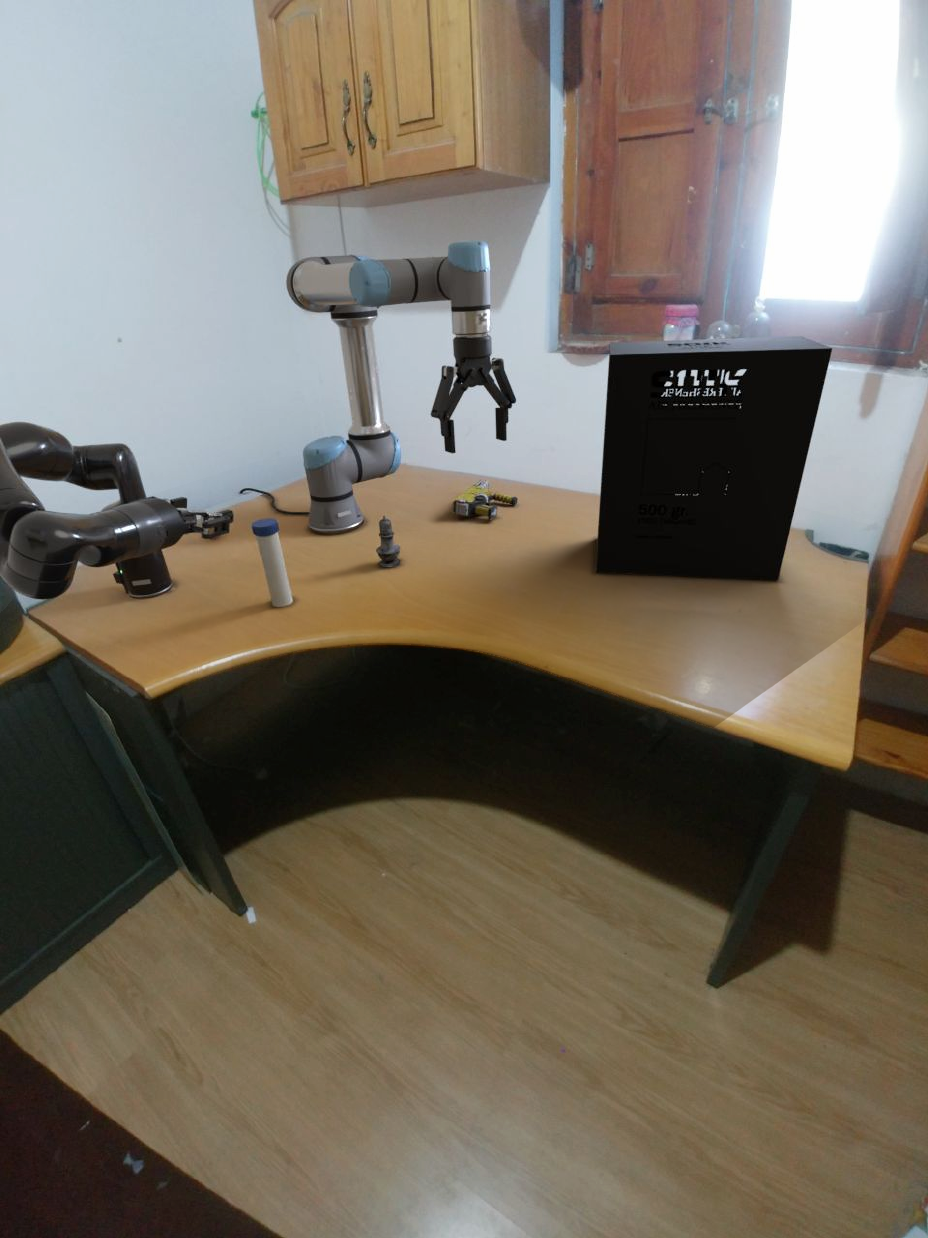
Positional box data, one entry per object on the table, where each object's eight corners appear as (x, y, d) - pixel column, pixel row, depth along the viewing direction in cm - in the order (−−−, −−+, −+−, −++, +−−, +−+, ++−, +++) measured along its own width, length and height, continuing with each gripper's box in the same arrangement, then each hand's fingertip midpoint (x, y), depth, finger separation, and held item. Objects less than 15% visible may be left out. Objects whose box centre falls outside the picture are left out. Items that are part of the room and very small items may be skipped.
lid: (259, 527, 125) (257, 518, 124) (283, 526, 124) (281, 517, 123) (249, 536, 120) (246, 527, 119) (273, 536, 120) (271, 527, 119)
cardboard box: (758, 542, 144) (801, 336, 122) (778, 580, 127) (832, 348, 105) (597, 537, 152) (610, 342, 129) (595, 572, 135) (610, 354, 112)
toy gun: (525, 484, 182) (478, 477, 186) (503, 508, 162) (451, 499, 166) (524, 500, 184) (477, 492, 188) (502, 525, 164) (450, 516, 168)
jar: (276, 597, 133) (258, 520, 124) (295, 597, 132) (278, 520, 123) (269, 607, 129) (250, 528, 120) (288, 607, 128) (270, 528, 119)
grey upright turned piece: (398, 568, 142) (392, 520, 136) (374, 567, 143) (367, 519, 137) (405, 558, 147) (399, 511, 141) (382, 557, 148) (376, 510, 142)
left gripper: (98, 540, 90) (170, 520, 104) (183, 565, 88) (244, 541, 103) (96, 490, 87) (171, 477, 102) (185, 515, 85) (247, 498, 100)
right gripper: (429, 342, 108) (437, 460, 118) (533, 329, 120) (532, 437, 131) (407, 340, 113) (417, 454, 124) (508, 328, 125) (510, 432, 136)
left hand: (208, 509), depth 102 cm, fingers open, 8 cm apart
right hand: (476, 445), depth 127 cm, fingers open, 13 cm apart
